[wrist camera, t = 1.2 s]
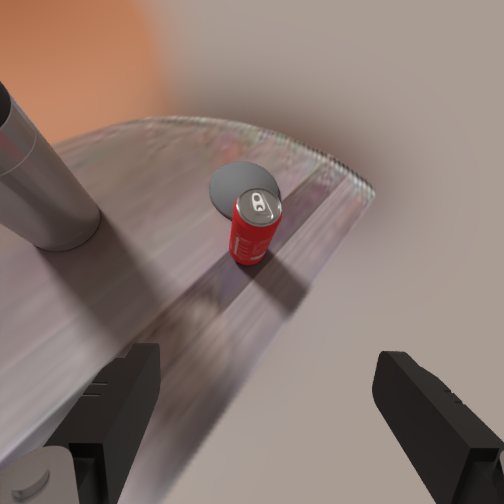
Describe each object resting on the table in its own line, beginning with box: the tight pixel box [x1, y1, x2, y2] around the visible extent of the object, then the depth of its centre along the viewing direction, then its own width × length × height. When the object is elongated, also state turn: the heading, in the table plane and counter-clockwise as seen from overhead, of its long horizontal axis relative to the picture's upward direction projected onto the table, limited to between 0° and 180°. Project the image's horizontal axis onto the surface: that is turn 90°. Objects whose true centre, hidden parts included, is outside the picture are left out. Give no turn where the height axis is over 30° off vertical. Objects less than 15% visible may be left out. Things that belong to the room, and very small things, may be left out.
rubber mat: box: [209, 162, 279, 219], centre depth 41 cm, size 11×11×1 cm
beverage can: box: [229, 187, 282, 265], centre depth 32 cm, size 5×5×12 cm
